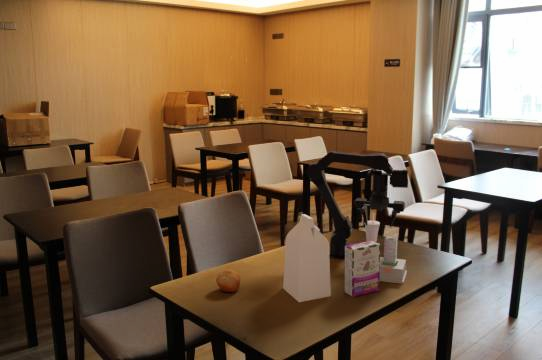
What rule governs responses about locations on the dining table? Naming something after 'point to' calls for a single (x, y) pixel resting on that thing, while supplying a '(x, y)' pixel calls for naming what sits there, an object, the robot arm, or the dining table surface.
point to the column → (390, 251)
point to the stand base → (393, 271)
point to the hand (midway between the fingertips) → (378, 226)
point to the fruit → (228, 280)
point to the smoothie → (372, 230)
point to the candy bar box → (362, 268)
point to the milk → (306, 262)
